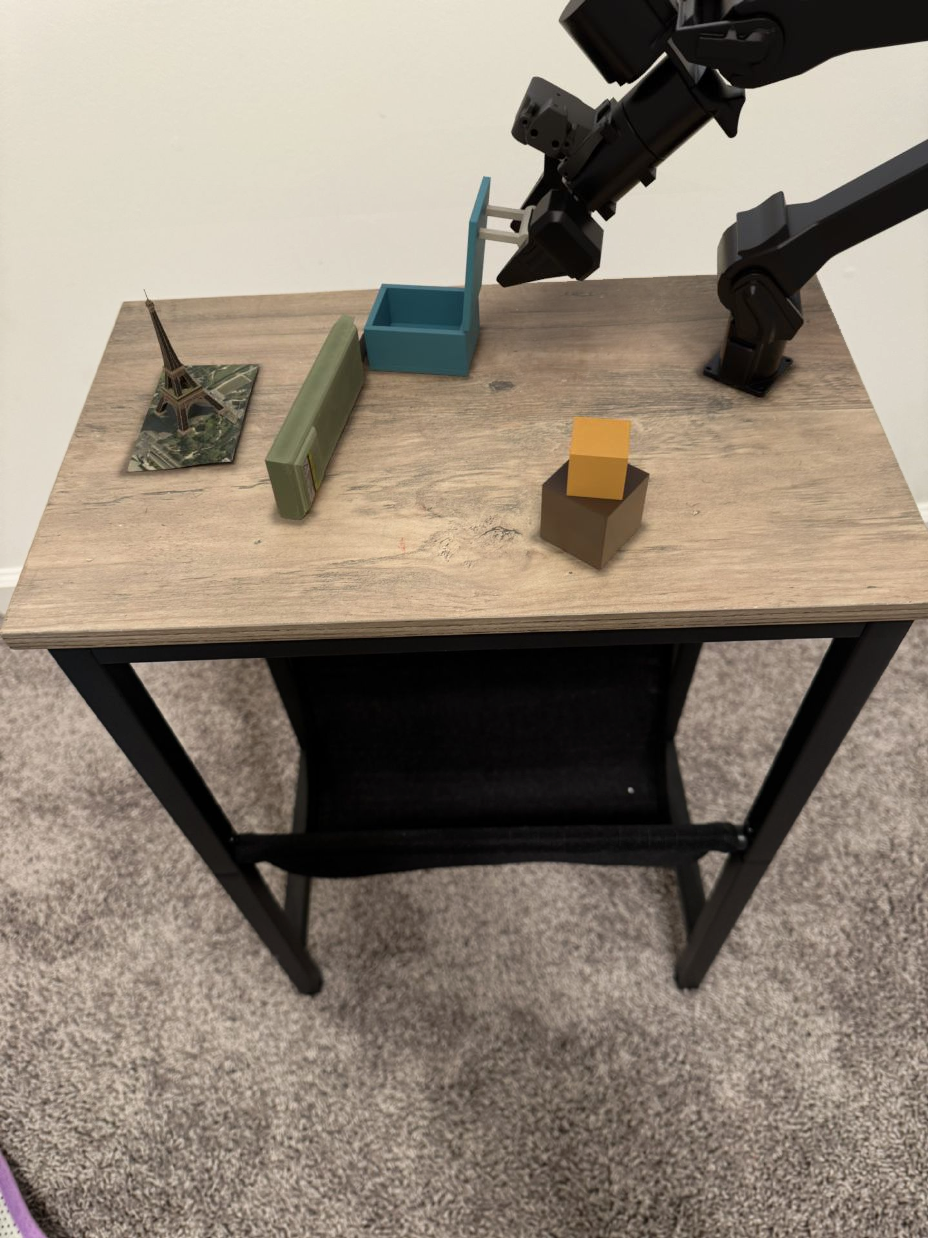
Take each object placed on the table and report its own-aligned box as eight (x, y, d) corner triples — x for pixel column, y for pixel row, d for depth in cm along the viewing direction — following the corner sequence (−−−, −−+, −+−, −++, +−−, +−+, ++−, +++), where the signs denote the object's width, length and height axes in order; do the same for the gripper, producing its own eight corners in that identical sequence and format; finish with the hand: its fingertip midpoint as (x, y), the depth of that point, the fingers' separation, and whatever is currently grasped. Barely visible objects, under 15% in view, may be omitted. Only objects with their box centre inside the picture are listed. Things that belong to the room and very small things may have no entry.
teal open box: (369, 370, 83) (363, 328, 80) (387, 323, 88) (381, 283, 84) (467, 376, 82) (465, 334, 78) (479, 329, 87) (478, 287, 83)
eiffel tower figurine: (235, 468, 75) (190, 340, 65) (126, 471, 76) (63, 345, 65) (260, 367, 84) (224, 240, 74) (162, 370, 85) (112, 245, 74)
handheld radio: (272, 516, 71) (353, 344, 86) (309, 522, 71) (384, 348, 86) (256, 458, 66) (345, 285, 81) (295, 464, 66) (378, 289, 80)
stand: (580, 496, 71) (585, 442, 66) (640, 526, 69) (650, 473, 64) (539, 537, 69) (541, 484, 64) (600, 570, 66) (607, 518, 61)
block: (571, 458, 65) (574, 416, 62) (624, 462, 65) (631, 419, 61) (566, 495, 63) (569, 453, 60) (622, 500, 62) (628, 458, 59)
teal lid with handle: (468, 220, 69) (536, 230, 69) (483, 175, 74) (546, 184, 74) (461, 330, 78) (521, 339, 78) (474, 283, 83) (531, 292, 82)
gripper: (586, -1, 67) (459, 141, 77) (565, 96, 56) (420, 246, 66) (670, 108, 72) (540, 227, 82) (666, 216, 61) (517, 337, 71)
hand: (506, 255), depth 75 cm, fingers open, 9 cm apart
